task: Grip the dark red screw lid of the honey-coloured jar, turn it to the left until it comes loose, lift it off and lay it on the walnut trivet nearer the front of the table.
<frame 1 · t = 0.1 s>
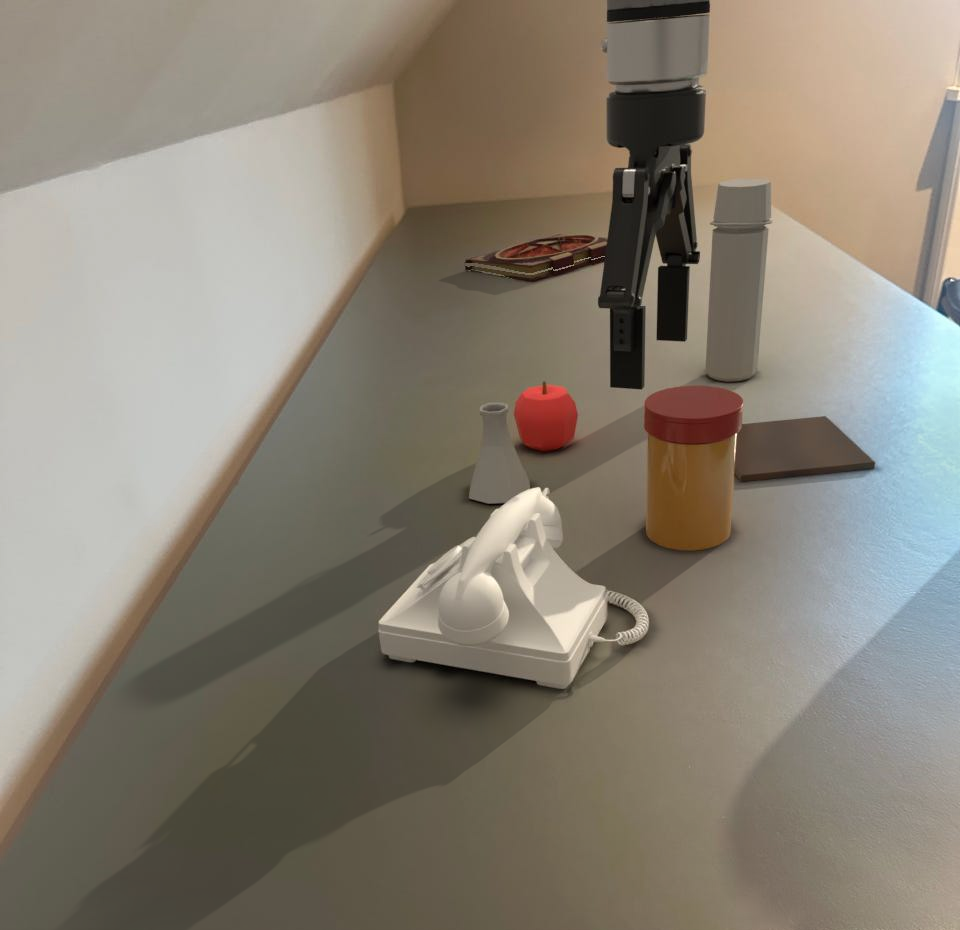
hand: (650, 362, 85), 19 cm above the table, tool pointing down, fingers open, 13 cm apart
lid: (693, 406, 91), point 13 cm above the table, screwed on, not yet turned
pad: (785, 450, 114), on the table
jar: (687, 531, 98), on the table
water bottle: (731, 374, 138), on the table
flask: (499, 494, 110), on the table
telephone: (527, 628, 86), on the table
book: (547, 264, 208), on the table
apple: (546, 445, 121), on the table
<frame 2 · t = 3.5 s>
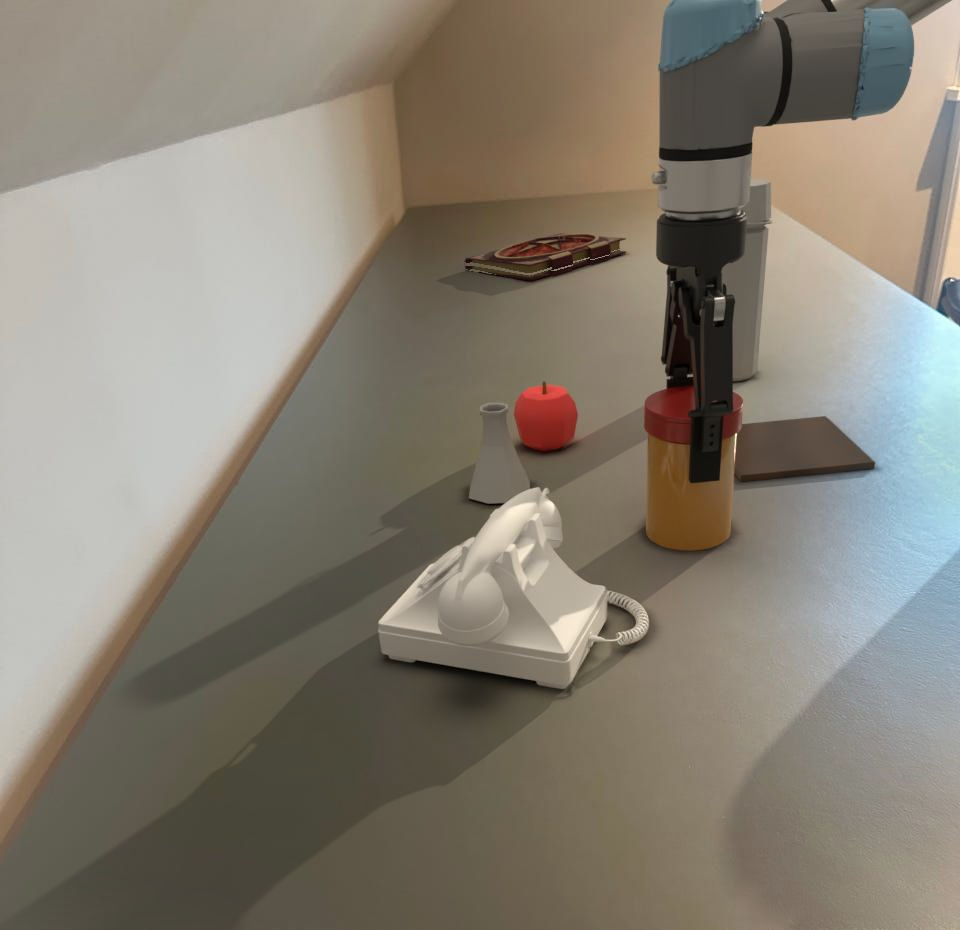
hand: (690, 460, 94), 8 cm above the table, tool pointing down, fingers closed on lid, 9 cm apart
lid: (693, 406, 91), point 13 cm above the table, screwed on, not yet turned, touching gripper
everything else where it was.
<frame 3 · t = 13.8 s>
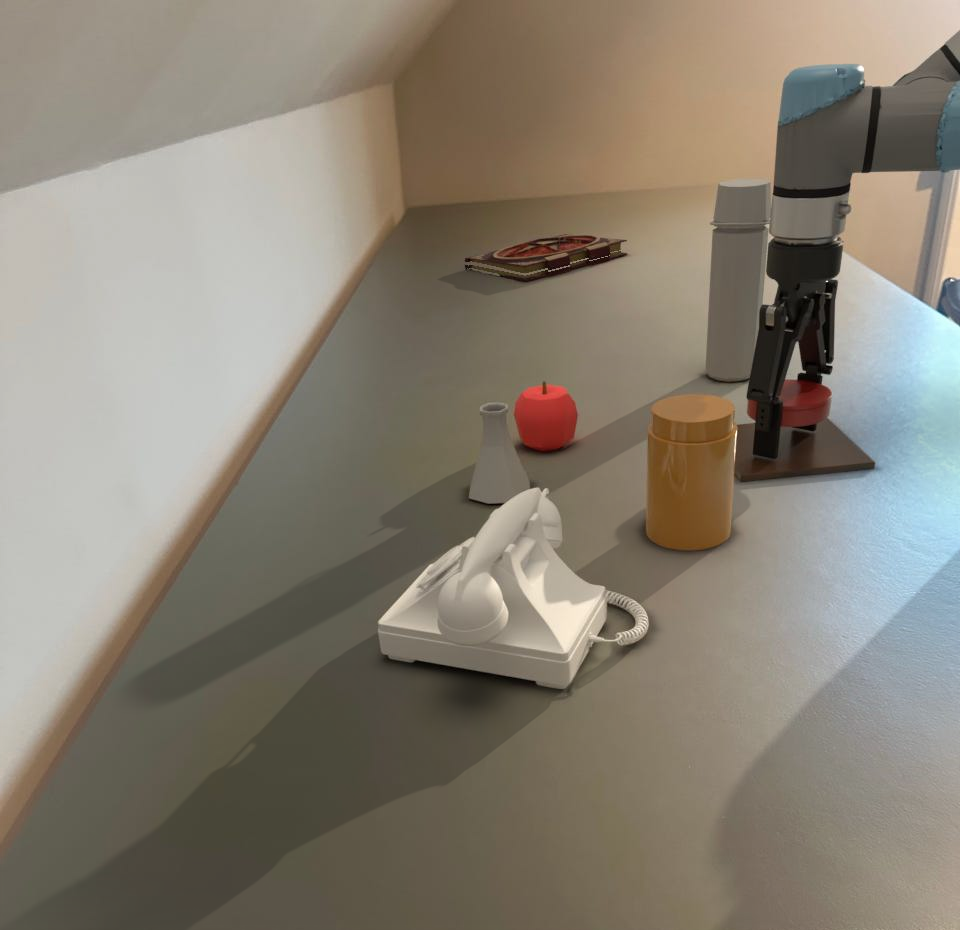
hand: (785, 441, 113), 1 cm above the table, tool pointing down, fingers closed on lid, 9 cm apart
lid: (789, 396, 110), point 6 cm above the table, off its thread, touching gripper
when the fingers open (2 cm above the table, at t = 21.9 s): lid drops 5 cm, resting on pad.
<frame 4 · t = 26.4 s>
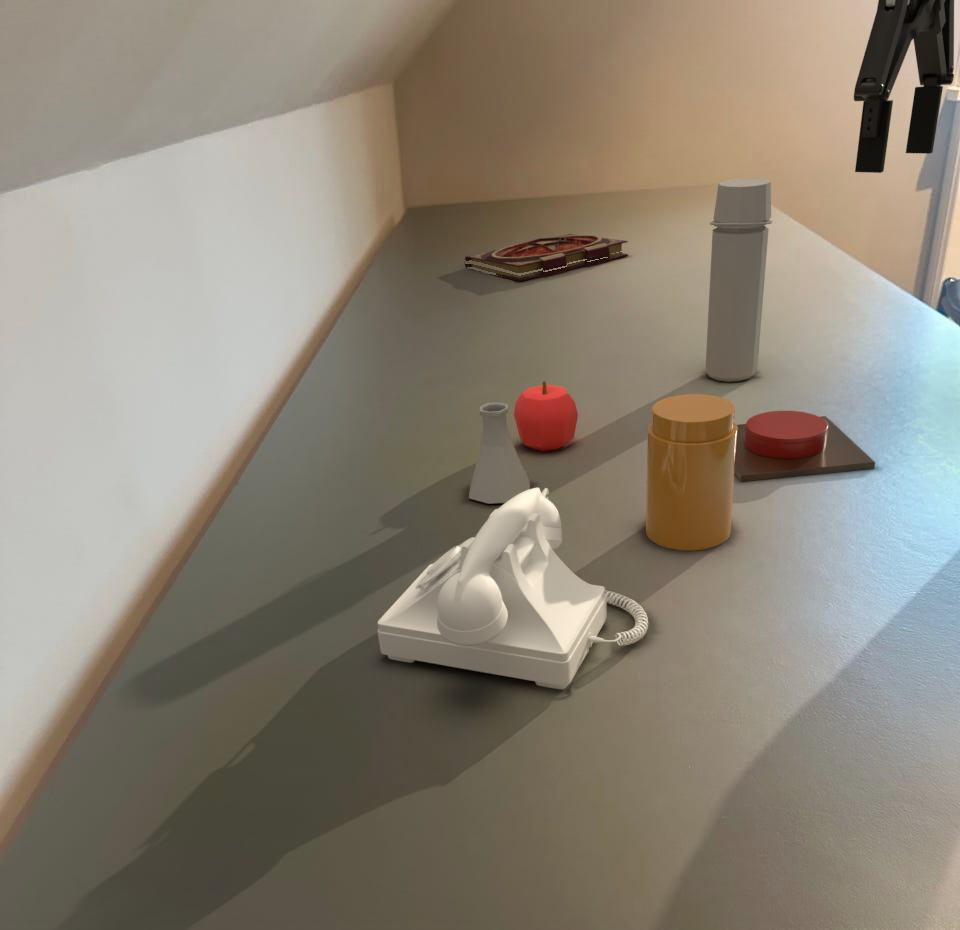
hand: (894, 162, 105), 29 cm above the table, tool pointing down, fingers open, 13 cm apart
lid: (786, 428, 112), point 3 cm above the table, off its thread, touching pad
at the end: lid inside the target area on the pad (0.1 cm from its centre), point 2.7 cm above the pad's base; lid tilted 0°; the gripper is holding nothing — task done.
